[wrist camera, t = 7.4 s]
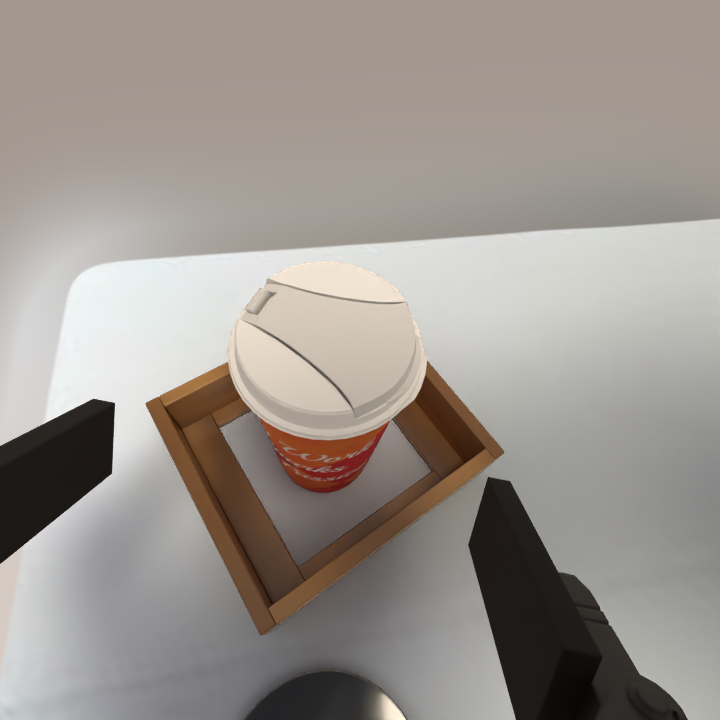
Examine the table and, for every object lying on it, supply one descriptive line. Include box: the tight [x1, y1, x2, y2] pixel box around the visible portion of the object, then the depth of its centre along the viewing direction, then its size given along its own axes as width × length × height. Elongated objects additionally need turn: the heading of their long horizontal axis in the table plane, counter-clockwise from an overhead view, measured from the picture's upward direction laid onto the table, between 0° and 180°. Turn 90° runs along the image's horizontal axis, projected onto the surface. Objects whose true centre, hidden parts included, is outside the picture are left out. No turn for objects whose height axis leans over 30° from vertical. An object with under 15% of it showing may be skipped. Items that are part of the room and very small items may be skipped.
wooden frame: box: [146, 361, 504, 635], centre depth 26 cm, size 16×14×4 cm
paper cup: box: [228, 261, 427, 492], centre depth 22 cm, size 8×8×14 cm
